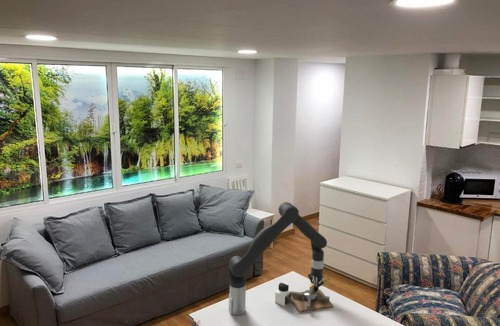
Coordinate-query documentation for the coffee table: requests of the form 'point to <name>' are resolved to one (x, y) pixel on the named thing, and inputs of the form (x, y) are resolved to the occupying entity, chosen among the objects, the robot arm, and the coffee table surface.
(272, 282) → the coffee table surface
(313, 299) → the spoked handwheel
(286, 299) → the medicine bottle
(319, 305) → the stand board
